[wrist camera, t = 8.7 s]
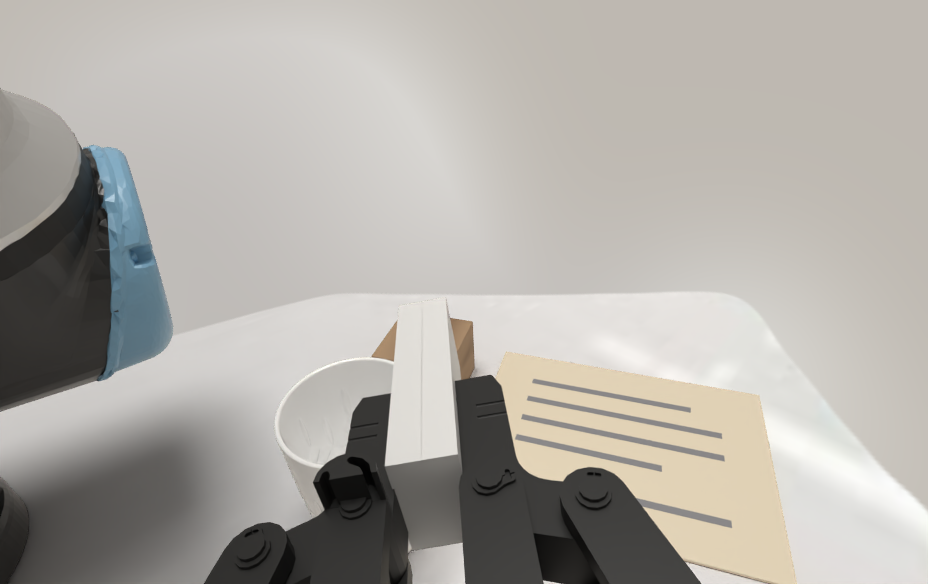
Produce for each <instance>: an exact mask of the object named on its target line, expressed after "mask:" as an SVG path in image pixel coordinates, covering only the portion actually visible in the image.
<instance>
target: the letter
mask: <svg viewBox="0 0 928 584" xmlns="http://www.w3.org/2000/svg"><path fill="white" fill-rule="evenodd" d="M495 379H496V380H497V381H498V383H499V384H500V385H501V386H502V391H503V395H504V400H505V405H506V410H507V415H508V419H509V424H510V429H511V434H512V439H513V443H514V448H515V453H516V457H517V459H518V462H519V464H520V465H521V466H522V467H523V469H525V470H526V471H527V472H528V473H530V474H532V475H534V476H536V477H538V478H543V479H547V480H555V481H563V480H564V479H565V478H566V476H567V475H569V474H570V473H572V472H574V471H575V470H577V469H581V468H586V467H595V468H603V469H605V470H607V471H610V472H612V473H614V474H615V475H616V476H618V477H619V478H620V479H621V480H622V481H623V482H624V483H625V485H626V486H627V487H628V488H629V490H630V491H631V492H632V494H633V495H634V496H635V498H636V499H637V500H638V501H639V503H640V504H641V505H642V507H643V508H644V509H645V511H646V512H647V513H648V515H649V516H650V517H651V518H652V520H653V521H654V522H655V524H656V525H657V526H658V528H659V529H660V530H661V532H662V533H663V534H664V535H665V537H666V538H667V539H668V541H669V542H670V543H671V545H672V546H673V547H674V549H675V550H676V551H677V552H678V554H679V555H680V556H681V558H682V559H683V560H684V561H687V562H690V563H694V564H698V565H702V566H705V567H709V568H713V569H717V570H721V571H724V572H728V573H732V574H736V575H740V576H743V577H747V578H751V579H755V580H758V581H762V582H766V583H770V584H797V581H796V576H795V571H794V566H793V561H792V556H791V551H790V546H789V541H788V536H787V531H786V526H785V521H784V516H783V511H782V506H781V502H780V497H779V492H778V487H777V482H776V477H775V472H774V467H773V462H772V457H771V452H770V447H769V442H768V437H767V432H766V427H765V422H764V417H763V412H762V407H761V402H760V397H759V395H755V394H749V393H743V392H737V391H732V390H726V389H720V388H714V387H708V386H703V385H697V384H691V383H685V382H679V381H674V380H668V379H662V378H656V377H650V376H645V375H639V374H633V373H627V372H621V371H616V370H610V369H604V368H598V367H592V366H587V365H581V364H575V363H569V362H563V361H558V360H552V359H546V358H540V357H534V356H529V355H523V354H517V353H511V352H506V353H505V355H504V358H503V360H502V363H501V366H500V368H499V371H498V373H497V376H496V378H495Z"/></svg>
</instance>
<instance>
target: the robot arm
mask: <svg viewBox="0 0 928 584" xmlns="http://www.w3.org/2000/svg"><path fill="white" fill-rule="evenodd" d="M172 334H173V324H172V319H171V314H170V310H169V306H168V302H167V298H166V295H165V291H164V287H163V284H162V280H161V276H160V273H159V270H158V266H157V263H156V259H155V256H154V254H153V250H152V245H151V241H150V238H149V235H148V230H147V226H146V223H145V219H144V215H143V212H142V208H141V205H140V201H139V198H138V195H137V191H136V188H135V184H134V181H133V178H132V174H131V171H130V168H129V165H128V162H127V159H126V157H125V155H124V154H123V153H122V152H121V151H120V150H118V149H116V148H111V147H105V148H101V147H99V146H95V145H91V146H89V147H84V148H83V149H82V148H81V146H80V145H79V143H78V141H77V139H76V137H75V135H74V133H73V132H72V131H71V129H70V128H69V127H68V125H67V124H66V123H65V121H64V120H63V119H62V118H61V117H60V116H59V115H58V114H56V113H55V112H54V111H52V110H51V109H50V108H48V107H46V106H44V105H42V104H40V103H38V102H36V101H34V100H31V99H29V98H26V97H24V96H20V95H17V94H14V93H11V92H7V91H4V90H1V88H0V412H1V411H4V410H7V409H10V408H13V407H16V406H19V405H22V404H25V403H29V402H32V401H35V400H38V399H41V398H44V397H47V396H50V395H53V394H56V393H60V392H63V391H66V390H69V389H72V388H75V387H78V386H81V385H84V384H87V383H90V382H94V381H102V380H105V379H108V378H109V377H111V376H112V375H113V374H114V372H116V371H119V370H122V369H124V368H127V367H129V366H132V365H135V364H137V363H140V362H142V361H145V360H148V359H150V358H153V357H155V356H156V355H158V354H160V353H161V352H162V351H163V350H164V349H165V348H166V347H167V346H168V344H169V342H170V340H171V338H172ZM313 484H314V487H315V489H316V491H317V494H318V496H319V498H320V501H321V503H322V505H323V507H324V511H323V512H322V513H321V514H319V515H318V516H317V517H315V518H313V519H311V520H309V521H308V522H305V523H303V524H301V525H299V526H297V527H294V528H292V529H290V530H288V531H286V532H285V530H284V529H283V528H282V527H281V526H280V525H278V524H274V523H271V522H268V523H260V524H256V525H254V526H252V527H250V528H247V529H245V530H244V531H243V532H241V533H240V534H239V535H237V536H236V537H235V538H233V540H232V541H231V542H230V543H229V545H228V546H227V547H226V548H225V550H224V551H223V553H222V555H221V556H220V558H219V560H218V561H217V563H216V565H215V566H214V568H213V569H212V571H211V573H210V574H209V576H208V578H207V579H206V581H205V583H204V584H412V571H411V565H410V562H409V559H408V539H409V542H410V545H411V548H412V551H414V550H420V549H426V548H432V547H438V546H444V545H450V544H456V543H462V542H463V554H464V569H465V583H466V584H544V583H543V580H544V581H550V582H556V583H561V584H701V583H700V581H699V580H698V579H697V577H696V576H695V575H694V573H693V572H692V571H691V569H690V568H689V567H688V566H687V564H686V563H685V562H684V560H683V559H682V558H681V556H680V555H679V554H678V552H677V551H676V550H675V549H674V547H673V546H672V545H671V543H670V542H669V541H668V539H667V538H666V537H665V535H664V534H663V533H662V532H661V530H660V529H659V528H658V526H657V525H656V524H655V522H654V521H653V520H652V518H651V517H650V516H649V515H648V513H647V512H646V511H645V509H644V508H643V507H642V505H641V504H640V503H639V501H638V500H637V499H636V498H635V496H634V495H633V494H632V492H631V491H630V490H629V488H628V487H627V486H626V485H625V483H624V482H623V481H622V480H621V479H620V478H619V477H618V476H616V475H615V474H614V473H612V472H610V471H607V470H605V469H603V468H595V467H586V468H581V469H577V470H575V471H574V472H572V473H570V474H569V475H567V476H566V478H565V479H564V480H563V481H555V480H547V479H543V478H538V477H536V476H534V475H532V474H530V473H528V472H527V471H526V470H525V469H523V467H522V466H521V465H520V464H519V462H518V459H517V457H516V453H515V448H514V443H513V439H512V434H511V429H510V424H509V419H508V415H507V410H506V405H505V400H504V395H503V391H502V386H501V385H500V384H499V383H498V381H497V380H496V379H495V378H494V377H493V376H492V375H487V376H481V377H475V378H469V379H463V380H461V373H460V365H459V360H458V355H457V350H456V345H455V340H454V335H453V330H452V325H451V320H450V316H449V311H448V306H447V301H446V297H444V298H438V299H433V300H427V301H421V302H415V303H409V304H404V305H399V309H398V320H397V332H396V343H395V355H394V366H393V378H392V389H391V393H389V394H383V395H377V396H371V397H365V398H362V400H361V401H360V402H359V404H358V405H357V407H356V408H355V410H354V411H353V413H352V419H351V424H350V430H349V436H348V442H347V447H346V452H345V454H343V455H340V456H337V457H335V458H334V459H332V460H330V461H329V462H327V463H326V464H325V465H324V466H323V467H322V468H321V469H320V470H319V471H318V472H317V474H316V476H315V479H314V481H313ZM28 529H29V518H28V512H27V509H26V506H25V504H24V503H23V501H22V500H21V498H20V497H19V496H18V495H17V494H16V493H15V492H14V490H13V489H12V488H11V487H10V486H9V485H8V483H7V482H6V481H5V480H4V479H3V478H1V477H0V584H6V583H7V581H8V580H9V578H10V577H11V575H12V573H13V571H14V569H15V568H16V566H17V564H18V562H19V559H20V557H21V555H22V552H23V550H24V547H25V544H26V540H27V536H28Z"/></svg>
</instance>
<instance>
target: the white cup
mask: <svg viewBox="0 0 928 584" xmlns="http://www.w3.org/2000/svg"><path fill="white" fill-rule="evenodd" d="M393 366H394V362H393V361H390V360H386V359H381V358H372V357H361V358H351V359H346V360H341V361H338V362H334V363H331V364H328V365H326V366H323V367H321V368H319V369H317V370H315V371H313V372H312V373H310V374H308V375H307V376H305V377H304V378H302V379H301V380H300V381H299V382H297V383H296V384H295V385H294V386H293V387H292V388H291V389H290V390H289V391H288V393H287V394H286V395H285V396H284V398H283V399H282V401H281V403H280V404H279V406H278V409H277V411H276V415H275V419H274V433H275V437H276V440H277V442H278V445H279V447H280V449H281V451H282V453H283V456H284V458H285V460H286V462H287V465H288V467H289V469H290V471H291V474H292V476H293V478H294V480H295V483H296V485H297V488H298V490H299V492H300V494H301V496H302V498H303V499H304V501H305V504H306V506H307V508H308V510H309V512H310V514H311V516H312V518H315V517H317V516H318V515H319V514H321V513H322V512H323V511H324V507H323V505H322V503H321V501H320V498H319V496H318V494H317V491H316V489H315V487H314V484H313V481H314V479H315V476H316V474H317V472H318V471H319V470H320V469H321V468H322V467H323V466H324V465H325V464H326V463H327V462H329V461H330V460H332V459H334V458H335V457H337V456H340V455H343V454H345V452H346V447H347V442H348V436H349V430H350V424H351V419H352V413H353V411H354V410H355V408H356V407H357V405H358V404H359V402H360V401H361V400H362V398H365V397H371V396H377V395H383V394H389V393H391V389H392V378H393ZM411 550H412V548H411V545H410V542H409V539H408V553H409V552H410V551H411Z"/></svg>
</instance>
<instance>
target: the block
mask: <svg viewBox="0 0 928 584" xmlns="http://www.w3.org/2000/svg"><path fill="white" fill-rule="evenodd" d="M450 320H451V325H452V330H453V335H454V340H455V345H456V350H457V355H458V360H459V365H460V373H461V380H463V379H469V378H470V376H471V374H472V372H473V370H474V367H475V365H474V342H473V322H472V321H465V320H459V319H453V318H450ZM396 332H397V321H396V323H395V324H394V326H393V327H392V328H391V330H390V331H389V333H388V334H387V335H386V337H385V338H384V340H383V341H382V342H381V344H380V345H379V347H378V348H377V349H376V351H375V352H374V354H373V355H372V358H381V359H386V360H390V361H393V362H394V355H395V343H396Z"/></svg>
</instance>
